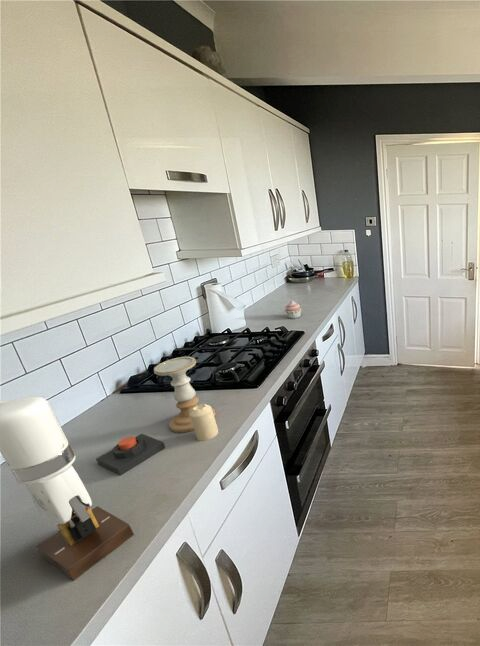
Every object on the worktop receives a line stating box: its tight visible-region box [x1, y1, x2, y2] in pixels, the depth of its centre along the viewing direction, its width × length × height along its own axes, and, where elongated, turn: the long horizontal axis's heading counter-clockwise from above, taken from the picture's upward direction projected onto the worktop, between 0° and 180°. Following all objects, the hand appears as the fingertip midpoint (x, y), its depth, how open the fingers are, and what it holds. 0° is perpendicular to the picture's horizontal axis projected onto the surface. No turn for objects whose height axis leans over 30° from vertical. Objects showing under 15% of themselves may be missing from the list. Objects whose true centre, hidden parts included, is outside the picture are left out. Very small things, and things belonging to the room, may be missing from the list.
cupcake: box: [284, 300, 303, 320], centre depth 198 cm, size 9×9×10 cm
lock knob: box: [56, 506, 99, 546], centre depth 69 cm, size 5×2×5 cm, turn 157°
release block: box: [95, 433, 166, 477], centre depth 95 cm, size 11×10×4 cm
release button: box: [117, 435, 137, 450], centre depth 94 cm, size 4×4×2 cm
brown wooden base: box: [35, 506, 135, 581], centre depth 71 cm, size 10×12×3 cm
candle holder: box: [153, 356, 216, 434], centre depth 106 cm, size 12×12×20 cm
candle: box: [189, 403, 219, 442], centre depth 101 cm, size 6×6×10 cm
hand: (82, 533), depth 70 cm, fingers closed on lock knob
